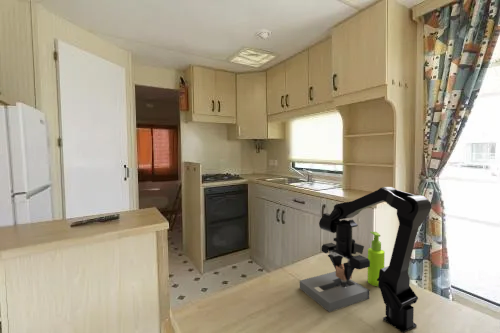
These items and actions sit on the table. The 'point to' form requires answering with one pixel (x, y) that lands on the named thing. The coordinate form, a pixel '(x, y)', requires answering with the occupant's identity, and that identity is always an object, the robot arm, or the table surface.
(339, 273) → the key peg
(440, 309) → the table surface
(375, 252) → the soap dispenser
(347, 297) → the keyhole plate
